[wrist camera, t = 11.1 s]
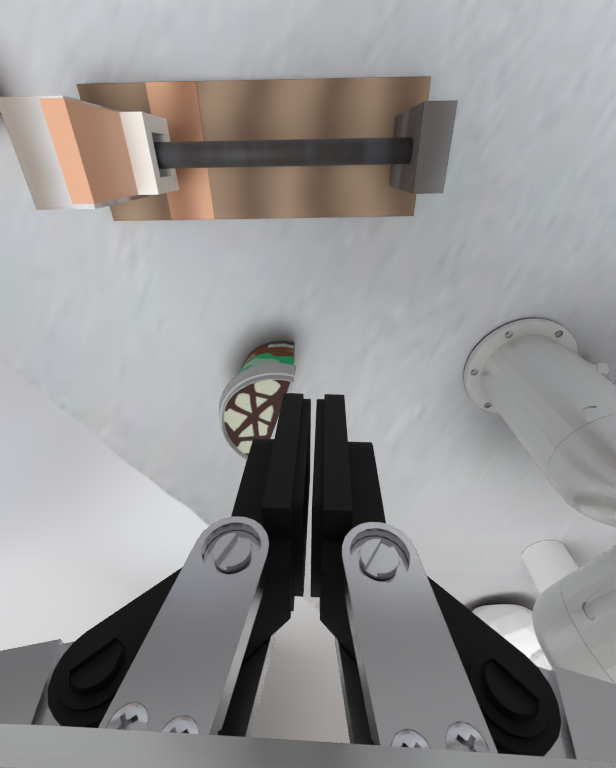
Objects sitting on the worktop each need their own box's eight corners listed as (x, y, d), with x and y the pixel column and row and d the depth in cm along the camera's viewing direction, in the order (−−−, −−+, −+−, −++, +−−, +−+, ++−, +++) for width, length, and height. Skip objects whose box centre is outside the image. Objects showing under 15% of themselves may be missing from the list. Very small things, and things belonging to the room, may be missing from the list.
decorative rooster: (549, 588, 69) (655, 779, 48) (530, 630, 77) (614, 808, 56) (415, 594, 70) (461, 782, 49) (411, 634, 78) (448, 810, 57)
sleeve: (166, 118, 27) (92, 97, 18) (179, 189, 29) (119, 203, 20) (112, 119, 27) (10, 98, 18) (129, 190, 29) (47, 204, 20)
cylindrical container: (534, 570, 66) (642, 767, 44) (513, 553, 63) (616, 754, 42) (572, 552, 63) (707, 754, 41) (551, 534, 60) (683, 739, 39)
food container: (245, 316, 41) (228, 357, 32) (298, 332, 42) (295, 376, 33) (224, 402, 47) (204, 456, 38) (270, 414, 48) (261, 470, 39)
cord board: (425, 80, 30) (482, 40, 20) (409, 213, 35) (448, 234, 25) (86, 87, 30) (-22, 51, 20) (120, 218, 35) (48, 241, 26)
